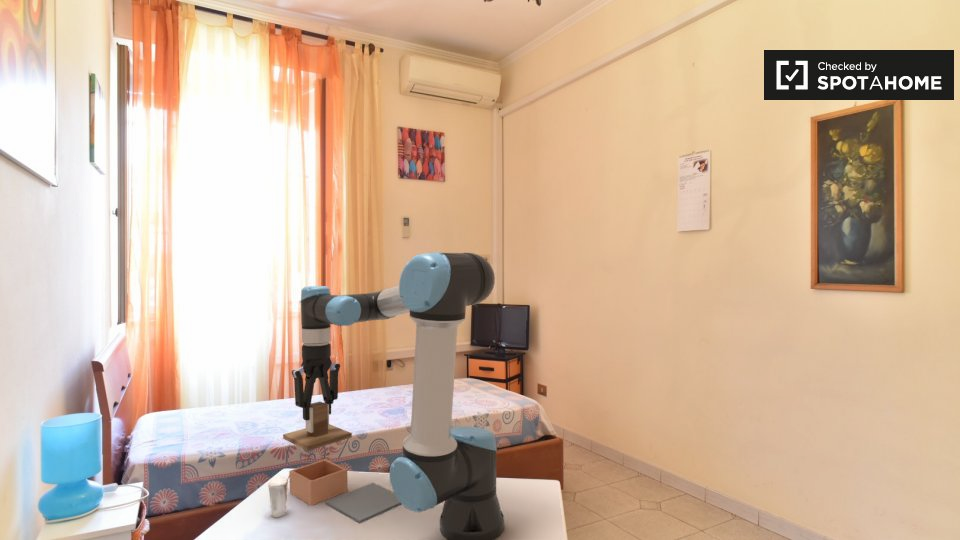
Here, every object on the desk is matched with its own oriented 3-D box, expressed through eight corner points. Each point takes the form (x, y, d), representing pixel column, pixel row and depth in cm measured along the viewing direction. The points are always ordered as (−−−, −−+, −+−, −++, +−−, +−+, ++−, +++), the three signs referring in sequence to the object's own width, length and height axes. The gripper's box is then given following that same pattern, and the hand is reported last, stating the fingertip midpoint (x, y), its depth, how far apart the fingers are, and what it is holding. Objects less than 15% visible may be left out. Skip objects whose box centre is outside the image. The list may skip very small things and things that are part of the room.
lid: (351, 437, 142) (351, 403, 142) (308, 450, 133) (307, 414, 132) (325, 426, 151) (325, 395, 151) (283, 438, 141) (282, 405, 141)
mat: (407, 501, 136) (407, 499, 136) (359, 523, 125) (359, 520, 125) (373, 484, 146) (373, 482, 146) (325, 503, 135) (325, 501, 135)
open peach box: (347, 491, 143) (347, 469, 142) (310, 505, 134) (310, 482, 134) (325, 479, 150) (325, 459, 150) (289, 492, 142) (289, 470, 142)
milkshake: (285, 519, 127) (284, 479, 127) (265, 518, 128) (264, 477, 128) (294, 510, 132) (294, 471, 131) (275, 509, 133) (274, 470, 132)
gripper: (336, 338, 150) (337, 418, 151) (279, 345, 137) (280, 434, 138) (351, 340, 145) (352, 424, 146) (293, 349, 132) (295, 440, 133)
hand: (317, 428), depth 142 cm, fingers closed on lid, 4 cm apart
